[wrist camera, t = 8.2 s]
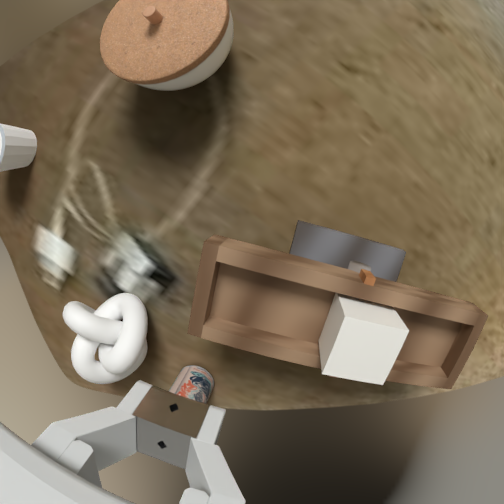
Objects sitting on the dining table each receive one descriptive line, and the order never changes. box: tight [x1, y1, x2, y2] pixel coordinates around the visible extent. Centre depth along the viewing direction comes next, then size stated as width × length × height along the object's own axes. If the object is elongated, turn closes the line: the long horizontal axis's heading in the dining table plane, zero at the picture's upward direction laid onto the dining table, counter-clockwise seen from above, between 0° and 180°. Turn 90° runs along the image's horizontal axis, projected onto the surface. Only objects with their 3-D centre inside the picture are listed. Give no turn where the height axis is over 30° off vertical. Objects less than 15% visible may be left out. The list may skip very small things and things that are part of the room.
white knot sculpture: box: [63, 293, 148, 384], centre depth 34 cm, size 11×12×9 cm
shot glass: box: [0, 124, 37, 172], centre depth 31 cm, size 7×7×7 cm
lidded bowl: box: [100, 0, 234, 91], centre depth 24 cm, size 13×13×11 cm
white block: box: [319, 293, 409, 385], centre depth 22 cm, size 5×5×5 cm
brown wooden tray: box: [187, 220, 488, 389], centre depth 28 cm, size 25×12×10 cm, turn 77°
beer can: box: [169, 366, 214, 404], centre depth 33 cm, size 5×5×12 cm
